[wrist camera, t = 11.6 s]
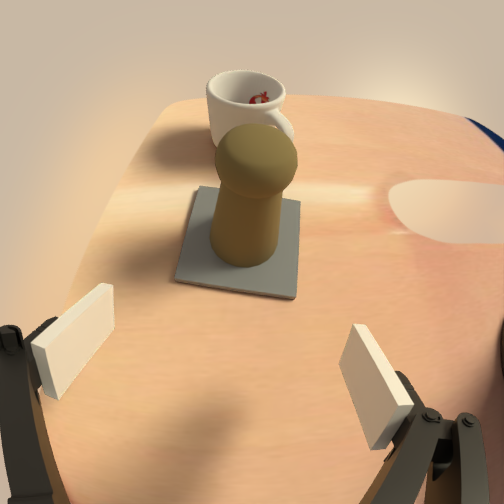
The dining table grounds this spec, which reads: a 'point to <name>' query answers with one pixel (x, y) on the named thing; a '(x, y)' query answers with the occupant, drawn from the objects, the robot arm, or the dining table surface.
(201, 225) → the coaster
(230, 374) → the dining table surface
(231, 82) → the cup
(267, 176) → the pepper mill
